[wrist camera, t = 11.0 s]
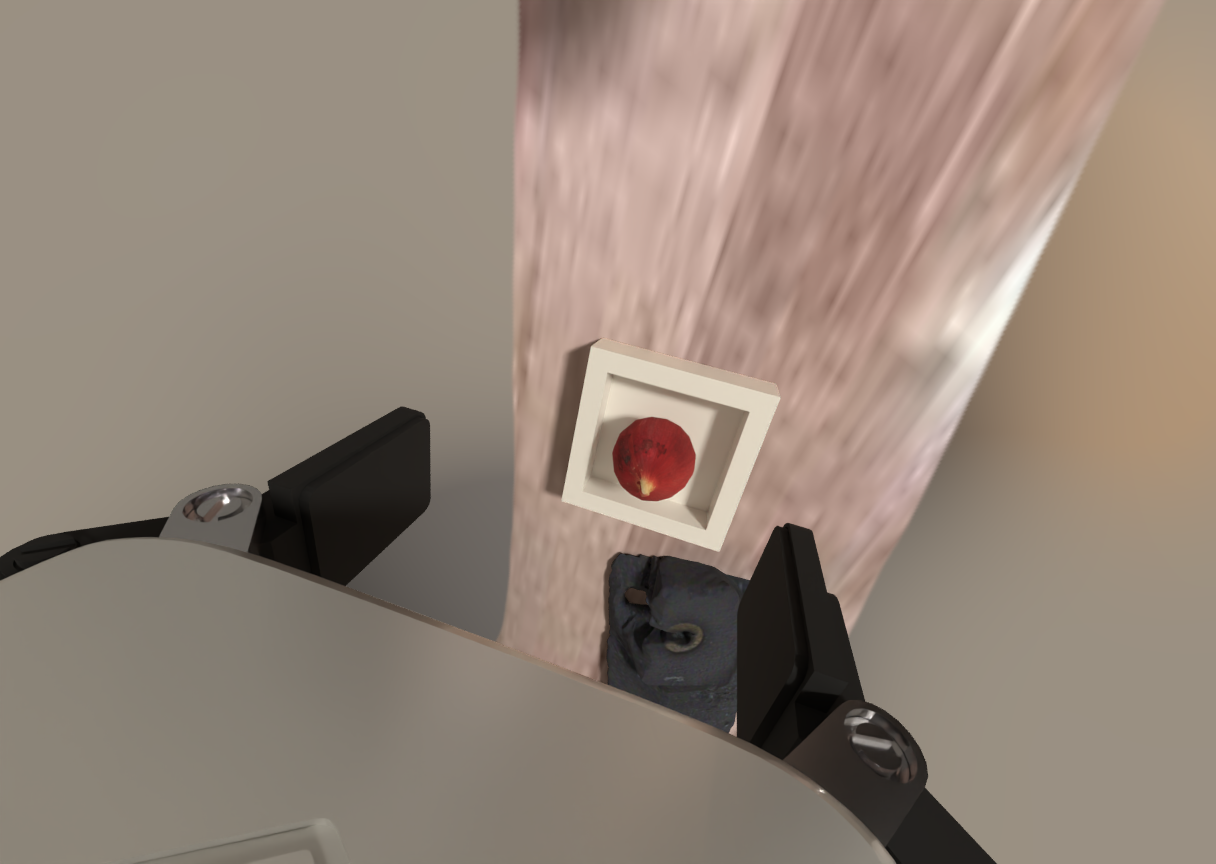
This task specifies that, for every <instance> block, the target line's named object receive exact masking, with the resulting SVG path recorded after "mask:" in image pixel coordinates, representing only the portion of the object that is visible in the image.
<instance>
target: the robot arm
mask: <svg viewBox="0 0 1216 864" xmlns="http://www.w3.org/2000/svg"><path fill="white" fill-rule="evenodd" d="M268 486H269V490H268V491H267V492H265V493H263V494H261V493H260V491H259V490H258V489H257V488H254V487H252V486H250V485H243V484H223V485H218V486H212V487H209V488H205V489H202V490H199V491H197V492H195V493H192V494H190V495H188V496H187V497H185V498H184V499H182V500H181V501H180V502H178V504H177V505H176V506H175V507H174V509H173V510H172V512H171V514H170V516H169V517H164V518H157V519H150V520H144V521H137V522H130V523H124V524H116V525H110V526H103V527H96V528H89V529H83V530H76V531H69V532H63V533H58V534H53V535H47V536H43V537H39V538H36V539H33V540H31V541H29V542H27V543H25V544H23V545H21V546H19V547H16V548H14V549H12V550H10V551H9V552H7V553H6V554H4V555H3V556H1V557H0V864H996V862H995V861H994V860H993V859H992V858H991V857H990V856H989V855H988V854H987V853H986V852H985V851H984V850H983V849H982V848H981V847H980V846H979V845H978V843H976V841H975V840H974V839H973V838H972V837H971V836H970V835H969V834H968V833H967V832H966V831H965V830H964V829H963V827H962V826H961V825H960V824H959V823H958V822H957V821H956V820H955V819H954V818H953V817H952V816H951V815H950V814H949V813H948V812H947V811H946V809H945V808H944V807H943V806H942V805H941V804H940V803H939V802H938V801H937V800H936V799H935V798H934V797H933V796H932V795H931V794H930V793H929V791H928V790H927V789H926V788H925V785H926V782H927V779H928V771H927V764H926V761H925V758H924V756H923V754H922V751H921V749H920V747H919V746H918V744H917V743H916V741H915V740H914V738H913V737H912V735H911V734H910V733H909V732H908V730H907V729H905V727H904V726H903V725H902V724H901V723H900V722H899V721H898V720H897V719H895V718H894V717H893V716H892V715H890V714H889V713H887V712H886V711H885V710H883V709H881V708H880V707H878V706H876V705H874V704H872V703H869V702H865V699H864V695H863V691H862V688H861V684H860V680H859V676H858V673H857V669H856V665H855V661H854V657H853V653H852V650H851V646H850V642H849V638H848V634H847V631H846V627H845V623H844V619H843V615H842V612H841V608H840V604H839V601H838V599H837V597H836V596H835V595H833V594H830V593H827V590H826V586H825V582H824V578H823V573H822V569H821V565H820V561H819V557H818V552H817V548H816V544H815V540H814V536H813V532H812V530H810V529H807V528H803V527H800V526H797V525H793V524H790V523H786V524H785V525H784V526H783V527H779V526H776V527H775V528H774V530H773V532H772V534H771V537H770V539H769V541H768V543H767V545H766V547H765V549H764V552H763V554H762V556H761V558H760V560H759V562H758V565H757V567H756V569H755V571H754V573H753V575H752V577H751V580H750V582H749V584H748V586H747V588H746V590H745V592H744V595H743V597H742V599H741V601H740V604H739V607H738V612H737V737H735V736H733V735H731V734H729V733H727V732H724V731H722V730H720V729H718V728H715V727H713V726H711V725H708V724H706V723H703V722H701V721H698V720H696V719H693V718H691V717H688V716H686V715H683V714H681V713H678V712H676V711H673V710H671V709H668V708H666V707H663V706H661V705H658V704H656V703H653V702H651V701H648V700H646V699H643V698H641V697H638V696H636V695H633V694H630V693H628V692H625V691H623V690H620V689H617V688H615V687H612V686H610V685H607V684H604V683H602V682H599V681H596V680H594V679H591V678H589V677H586V676H583V675H581V674H578V673H575V672H573V671H570V670H568V669H565V668H562V667H560V666H557V665H555V664H552V663H549V662H547V661H544V660H541V659H539V658H536V657H534V656H531V655H528V654H526V653H523V652H520V651H518V650H515V649H512V648H510V647H507V646H504V645H502V644H499V643H496V642H494V641H491V640H488V639H486V638H483V637H480V636H478V635H475V634H472V633H470V632H467V631H464V630H462V629H459V628H456V627H454V626H451V625H448V624H445V623H443V622H440V621H438V620H435V619H432V618H430V617H427V616H424V615H422V614H419V613H416V612H414V611H411V610H408V609H406V608H403V607H400V606H397V605H395V604H392V603H389V602H387V601H384V600H381V599H378V598H376V597H373V596H370V595H367V594H365V593H362V592H359V591H357V590H354V589H351V588H349V587H346V585H347V584H348V583H349V582H350V581H351V580H352V579H353V578H354V577H355V576H356V575H358V574H359V573H360V572H361V571H362V570H363V569H364V568H365V567H366V566H367V565H368V564H369V563H370V562H371V561H372V560H373V559H375V558H376V557H377V556H378V555H379V554H380V553H381V552H382V551H383V550H384V549H385V548H386V547H387V546H388V545H389V544H391V543H392V542H393V541H394V540H395V539H396V538H397V537H398V536H399V535H400V534H401V533H402V532H403V531H404V530H405V529H406V528H408V527H409V526H410V525H411V524H412V523H413V522H414V521H415V520H416V519H417V518H418V517H419V516H420V515H421V514H422V513H423V512H424V511H425V510H426V509H427V507H428V505H429V503H430V498H431V497H430V423H429V421H428V420H427V419H426V417H425V415H424V413H422V412H419V411H416V410H412V409H409V408H406V407H400V408H397V409H395V410H394V411H392V412H390V413H388V414H387V415H385V416H383V417H381V418H380V419H378V420H376V421H374V422H372V423H371V424H369V425H367V426H365V427H363V428H362V429H360V430H358V431H356V432H355V433H353V434H351V435H349V436H347V437H346V438H344V439H342V440H340V441H339V442H337V443H335V444H333V445H332V446H330V447H328V448H326V449H324V450H323V451H321V452H319V453H317V454H316V455H314V456H312V457H310V458H309V459H307V460H305V461H303V462H301V463H299V464H298V465H296V466H294V467H292V468H290V469H289V470H287V471H285V472H283V473H282V474H280V475H278V476H276V477H274V478H273V479H271V480H269V481H268Z"/></svg>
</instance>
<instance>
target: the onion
mask: <svg viewBox="0 0 1216 864" xmlns="http://www.w3.org/2000/svg"><path fill="white" fill-rule="evenodd" d="M612 457H613V468H614V473H615V475H616V477H617V479H618V481H619V483H620V485H621V486H622V487H623V488H624V489H625V490H626V491H627V492H628V493H629V494H630V495H632V496H634V497H636V498H638V499H640V500H642V501H660V500H664V499H668V498H671V497H672V496H674V495H675V494H677V493H678V492H679V491H681V490H682V489H683V488H684V487H685V486H686V484H687V483H688V481H689V480H690V478H691V476H692V475H693V472H694V469H695V460H696V453H695V451H694V448H693V445H692V442H691V439H690V437H689V436H688V434H687V433H686V432H685V431H684V430H683V429H682V428H681V426H679V425H677V424H675V423H674V422H672V421H670V420H668V419H664V418H657V417H647V418H643V419H638V420H635V421H634V422H633V423H632V424H630V425H629V426H628V427H627V428H625V429H624V430H623V431H622V432H621V433H620V434H619V436H618V439H617V441H616V444H615V446H614V449H613V452H612Z"/></svg>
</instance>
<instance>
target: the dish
mask: <svg viewBox="0 0 1216 864" xmlns="http://www.w3.org/2000/svg"><path fill="white" fill-rule="evenodd" d="M780 398H781V397H780V394H779V391H778V388H777V385H776V384H775V383H772V382H768V381H764V380H760V379H756V378H753V377H749V376H745V375H741V374H738V373H734V372H730V371H726V370H723V369H719V368H715V367H711V366H708V365H704V364H700V363H696V362H693V361H689V360H685V359H681V358H677V357H674V356H670V355H666V354H662V353H659V352H655V351H651V350H647V349H644V348H640V347H636V346H632V345H629V344H625V343H621V342H617V341H614V340H610V339H606V338H602V339H600V340H599V341H597V342H596V343H595V344H593V345H592V346H591V349H590V354H589V359H588V365H587V370H586V375H585V380H584V386H583V391H582V396H581V401H580V407H579V412H578V417H577V422H576V428H575V433H574V438H573V443H572V448H571V454H570V459H569V464H568V469H567V475H566V480H565V485H564V490H563V496H562V501H563V502H566V503H569V504H573V505H576V506H579V507H582V508H585V509H588V510H591V511H594V512H597V513H600V514H603V515H607V516H610V517H613V518H616V519H619V520H622V521H625V522H628V523H631V524H634V525H637V526H641V527H644V528H647V529H650V530H653V531H656V532H659V533H662V534H665V535H668V536H671V537H675V538H678V539H681V540H684V541H687V542H690V543H693V544H696V545H699V546H702V547H705V548H709V549H712V550H715V551H718V552H719V551H720V549H721V546H722V544H723V541H724V539H725V536H726V534H727V531H728V529H729V526H730V524H731V521H732V519H733V516H734V514H735V511H736V509H737V506H738V504H739V501H740V498H741V496H742V493H743V491H744V488H745V486H746V483H747V481H748V478H749V476H750V473H751V471H752V468H753V466H754V463H755V461H756V458H757V456H758V453H759V451H760V448H761V446H762V443H763V441H764V438H765V435H766V433H767V430H768V428H769V425H770V423H771V420H772V418H773V415H774V413H775V410H776V408H777V405H778V403H779V400H780ZM647 417H657V418H664V419H668V420H670V421H672V422H674V423H675V424H677V425H679V426H681V428H682V429H683V430H684V431H685V432H686V433H687V434H688V436H689V437H690V439H691V442H692V445H693V448H694V451H695V453H696V460H695V469H694V472H693V475H692V476H691V478H690V480H689V481H688V483H687V484H686V486H685V487H684V488H683V489H682V490H681V491H679V492H678V493H677V494H675V495H674V496H672V497H671V498H668V499H664V500H660V501H642V500H640V499H638V498H636V497H634V496H632V495H630V494H629V493H628V492H627V491H626V490H625V489H624V488H623V487H622V486H621V485H620V483H619V481H618V479H617V477H616V475H615V473H614V468H613V457H612V452H613V449H614V446H615V444H616V441H617V439H618V436H619V434H620V433H621V432H622V431H623V430H624V429H625V428H627V427H628V426H629V425H630V424H632V423H633V422H634V421H635V420H638V419H643V418H647Z"/></svg>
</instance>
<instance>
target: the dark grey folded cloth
mask: <svg viewBox="0 0 1216 864" xmlns="http://www.w3.org/2000/svg"><path fill="white" fill-rule="evenodd" d="M650 562H651V563H650ZM611 567H612V572H611V574H610V577H609V586H610V589H609V592H610V596H609V625H610V630H609V633H610V637H609V638H608V640H607V643H608V649H607V662H608V667H609V668H608V672H607V674H608V685H610V686H612V687H615V688H617V689H620V690H623V691H625V692H628V693H630V694H633V695H636V696H638V697H641V698H643V699H646V700H648V701H651V702H653V703H656V704H658V705H661V706H663V707H666V708H668V709H671V710H673V711H676V712H678V713H681V714H683V715H686V716H688V717H691V718H693V719H696V720H698V721H701V722H703V723H706V724H708V725H711V726H713V727H715V728H718V729H720V730H722V731H724V732H727V733H729V732H730V729H731V727H732V726H733V725H734V721H735V714H736V712H737V612H738V607H739V604H740V601H741V599H742V597H743V595H744V592H745V590H746V588H747V586H748V584H749V582H750V580H746V579H743V578H739V577H735V576H731V575H726V574H725V573H723V572H721V571H719V570H718V569H716V568H715V567H712V566H709V565H705V564H702V563H699V562H693V561H688V560H684V559H680V558H676V557H671V556H663V557H662V558H658V557H656V556H653V557H652V558H650V557H646V556H643V555H640V556H639V557H635V556H632V555H625V554H620V555H619V556H618V557H617V558H616V559H615V560H614V561H613V564H612V566H611ZM628 588H635V589H637V590H642V591H645V592H646V595H647V597H646V602H647V604H648V605H640V604H633V603H629V602H628V600H627V599H626V597H625V592H626V591H627V589H628Z"/></svg>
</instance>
